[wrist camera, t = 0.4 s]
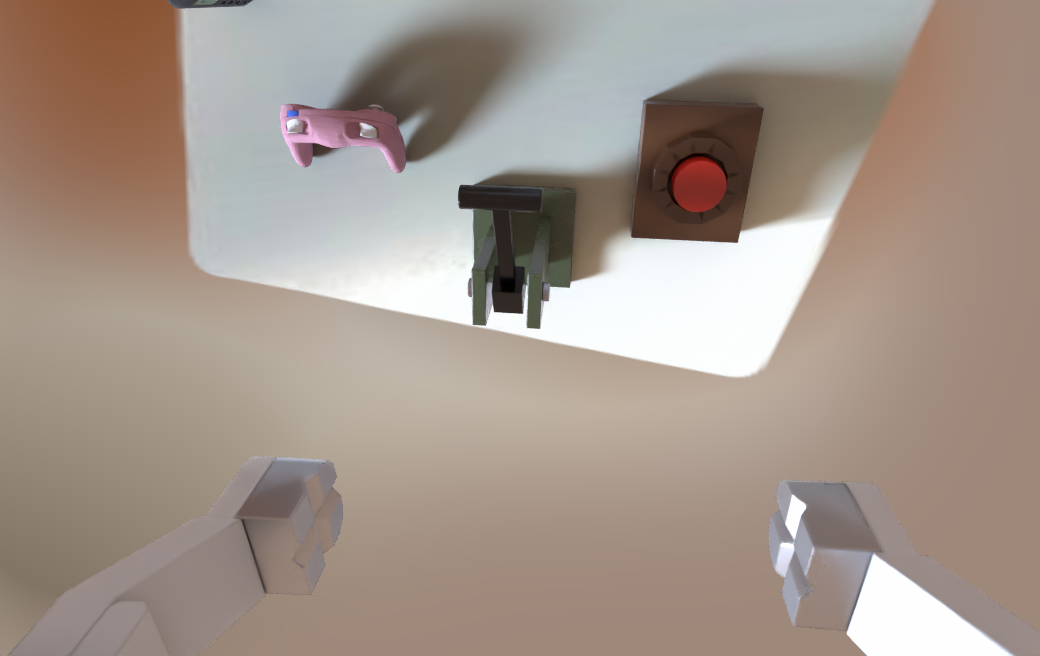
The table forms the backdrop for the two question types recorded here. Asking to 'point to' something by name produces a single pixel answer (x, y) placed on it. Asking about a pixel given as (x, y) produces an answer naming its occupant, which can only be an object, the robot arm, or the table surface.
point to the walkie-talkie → (207, 3)
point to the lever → (504, 237)
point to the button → (698, 184)
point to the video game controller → (341, 131)
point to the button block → (683, 135)
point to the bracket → (526, 252)
